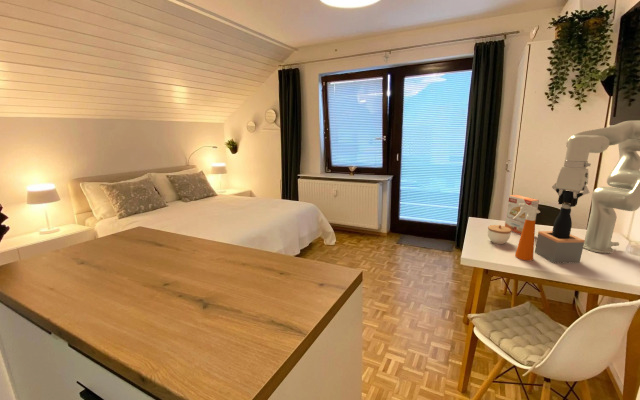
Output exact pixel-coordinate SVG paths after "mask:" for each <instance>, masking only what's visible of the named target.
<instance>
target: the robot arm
mask: <svg viewBox="0 0 640 400" xmlns="http://www.w3.org/2000/svg"><path fill="white" fill-rule="evenodd" d="M565 145H566V152H565V153H566V154H565V158H564V163H563V166H561V169H559V170H560V171H559V173H558V175H557V179H556V182H555V183H554V184H553V185H552V187H551V189H553V190H554V191H555V192H556V193H557V195H558V199H557V202H558V205H562V204H563V203H564V198H563V193H564V191H573V198H572V199H571V203H570V207H571V208H572V207H576V206H577V204H578V201H579V198H581V197H583V196H585V195H588V194H590V193H591V192H590V191H589V188H588V183H589V168H587V167H591V165H592V164H591V163H589V161H588V160H589V156H590V154H600V153H603V152H605V151H607V150H608V148H609V147H611V146H616V145H618V155H619V156H618V157H619V159H618V161H617V163H616V164H615V166H614V167H613V169H612V170H611V172H610V173H609V175H608V176H607V179H606V183H607V185H608V186H599V187H597V188H595V189H594V190H593V191H592V193H591V209H590V213H589V219H588V223H587V228H586V232H585V238H584V240H585V242H584V246H583V250H587V251H591V252H594V253H601V254H612V253H613V252H614V249H613V248H612V247H619V245H620V243H619V241H612V238H613V233H614V230H615V226H616V222H617V213H616V211H615V209H616V210H622V211H626V212H634V211H637V210H639V209H640V155H639V153H638V152H640V120H626V121H625V120H624V121H622V122H618V123H616V124H614V125H610V126H607V127H602V128H595V129H590V130H585V131H581V132H578V133H574V134H572V135H571V136H569V138H568V139H567V141H566V143H565Z"/></svg>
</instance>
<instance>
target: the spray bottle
mask: <svg viewBox="0 0 640 400" xmlns="http://www.w3.org/2000/svg"><path fill="white" fill-rule="evenodd" d="M519 206H521V208H520V209H521V210H520V212H519V213H518V214H517V215H516V216H515V217H514V218H513V219H515V218H518V217H519V216H521V215H522V214H524V213H525V212H528V214H527V215H526V220H525V223H524V227H523V230H522V234H520V238H519V241H518V244H517V247H516V251H515V254H514V255H515V258H517V259H519V260H522V261H533V260H534V253H535V233H536V220H537V215H536V216H535V214H536V213H537V214H539V213H541V211H540V210H539V208H538V209H536V208H534V207H532V206H530V205H527V204H524V203H523V204H522V203H519ZM524 210H526V211H524ZM535 219H536V220H535Z"/></svg>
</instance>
